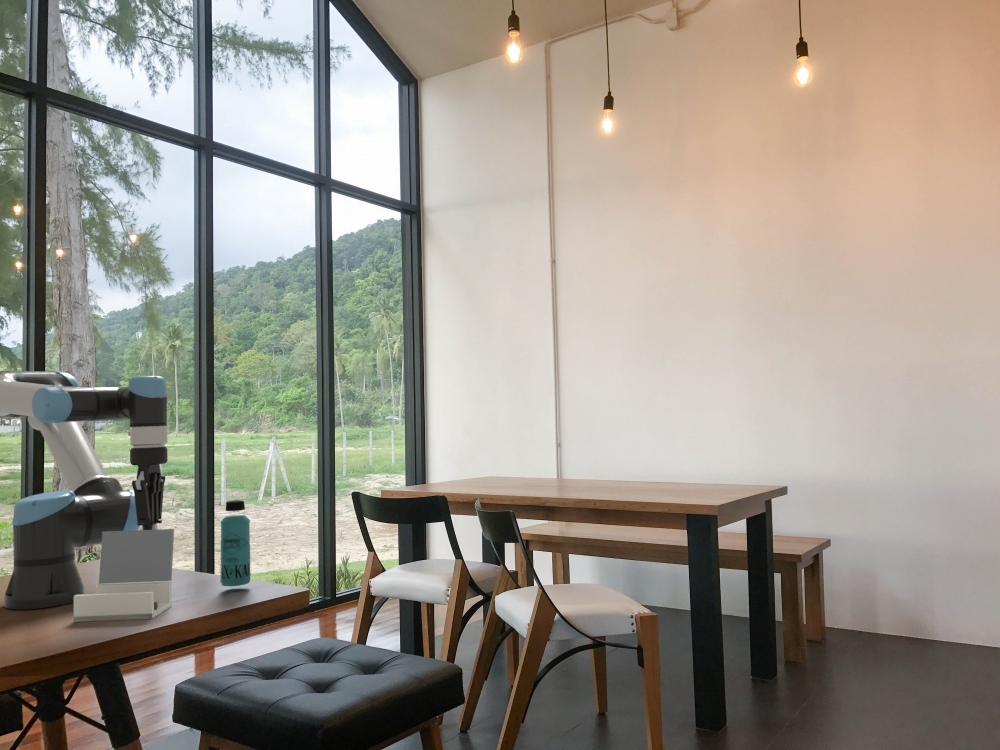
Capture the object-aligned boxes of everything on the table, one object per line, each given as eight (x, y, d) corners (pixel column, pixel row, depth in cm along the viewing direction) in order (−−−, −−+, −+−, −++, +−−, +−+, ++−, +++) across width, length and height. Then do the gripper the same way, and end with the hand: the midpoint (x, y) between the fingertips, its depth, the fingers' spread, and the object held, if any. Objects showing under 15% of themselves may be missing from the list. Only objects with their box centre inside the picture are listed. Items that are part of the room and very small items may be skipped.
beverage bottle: (220, 588, 180) (218, 500, 181) (250, 585, 182) (249, 498, 183) (221, 594, 174) (219, 503, 175) (252, 591, 176) (251, 500, 177)
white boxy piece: (98, 609, 164) (97, 584, 164) (171, 606, 165) (171, 581, 165) (73, 621, 154) (73, 596, 154) (152, 618, 155) (151, 592, 155)
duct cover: (98, 583, 164) (100, 583, 165) (170, 580, 165) (171, 580, 166) (102, 531, 167) (104, 531, 168) (172, 528, 167) (174, 529, 168)
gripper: (143, 445, 180) (144, 550, 179) (118, 448, 167) (119, 561, 166) (176, 444, 181) (178, 548, 180) (154, 447, 168) (156, 559, 167)
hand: (150, 554), depth 173 cm, fingers closed
